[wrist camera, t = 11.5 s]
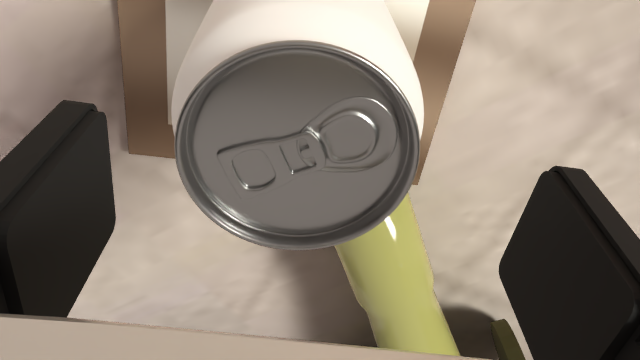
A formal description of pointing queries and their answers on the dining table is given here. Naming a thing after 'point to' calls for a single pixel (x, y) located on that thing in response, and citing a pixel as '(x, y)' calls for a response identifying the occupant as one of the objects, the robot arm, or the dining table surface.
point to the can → (297, 120)
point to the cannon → (406, 289)
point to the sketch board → (185, 19)
